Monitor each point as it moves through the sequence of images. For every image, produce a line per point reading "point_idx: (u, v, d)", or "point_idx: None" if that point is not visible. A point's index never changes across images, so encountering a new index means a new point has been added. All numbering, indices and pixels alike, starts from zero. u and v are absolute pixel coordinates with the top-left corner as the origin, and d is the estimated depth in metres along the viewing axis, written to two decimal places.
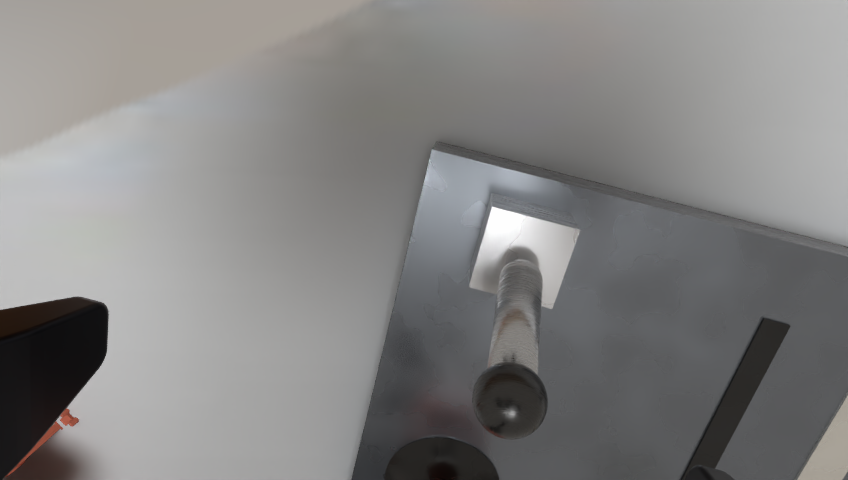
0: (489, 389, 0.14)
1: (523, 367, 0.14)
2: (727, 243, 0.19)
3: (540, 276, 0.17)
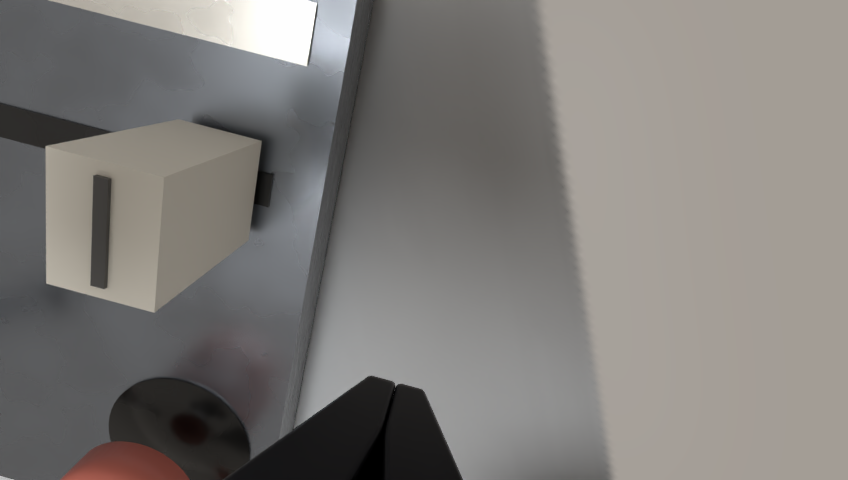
0: None
1: None
2: None
3: None
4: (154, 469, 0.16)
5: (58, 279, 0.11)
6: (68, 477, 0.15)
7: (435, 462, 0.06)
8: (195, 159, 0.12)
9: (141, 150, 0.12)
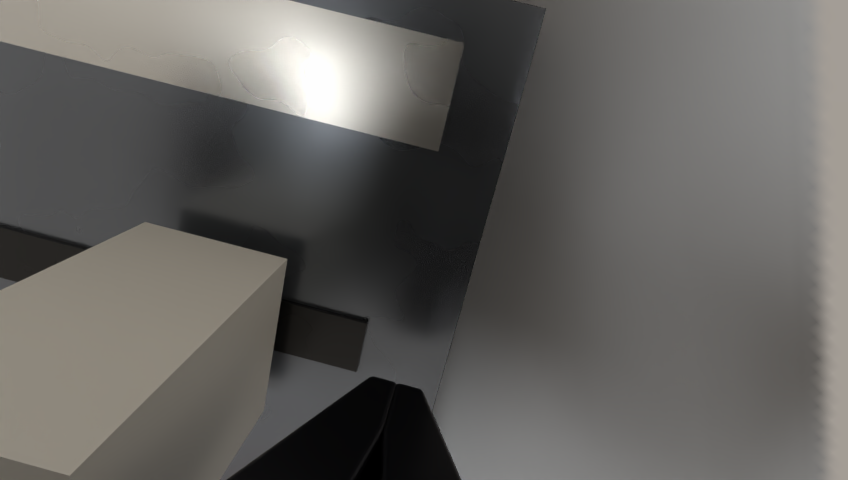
0: None
1: None
2: None
3: None
4: None
5: None
6: None
7: (433, 462, 0.06)
8: (161, 358, 0.06)
9: (42, 352, 0.05)
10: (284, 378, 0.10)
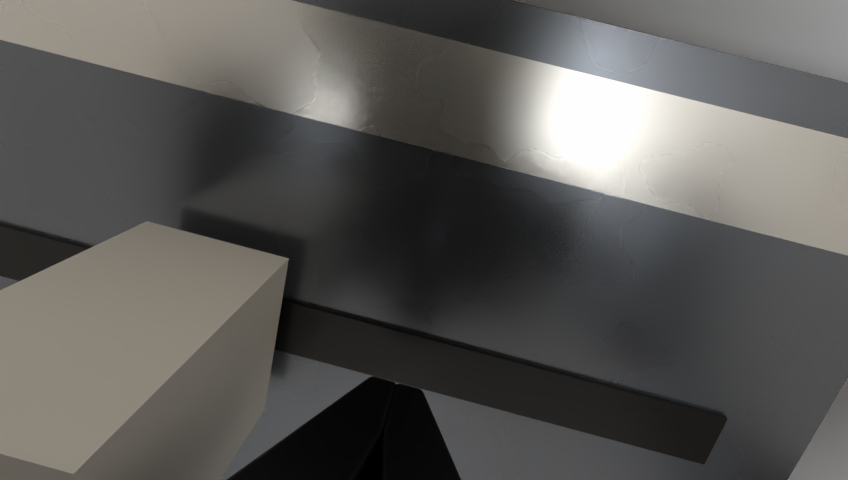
0: None
1: None
2: None
3: None
4: None
5: None
6: None
7: (433, 461, 0.06)
8: (163, 357, 0.06)
9: (45, 351, 0.05)
10: (619, 466, 0.10)
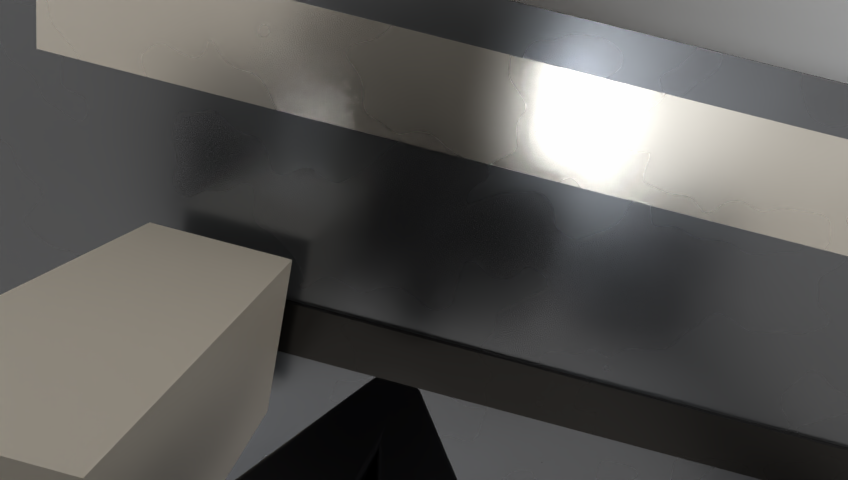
0: None
1: None
2: None
3: None
4: None
5: None
6: None
7: (429, 460, 0.06)
8: (170, 359, 0.06)
9: (51, 354, 0.05)
10: None
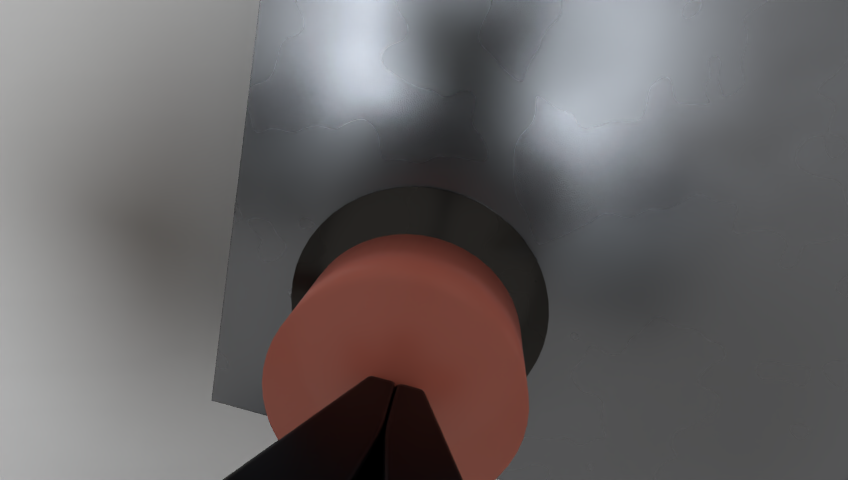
0: None
1: None
2: None
3: None
4: None
5: None
6: (517, 339, 0.08)
7: (435, 462, 0.06)
8: None
9: None
10: (834, 454, 0.11)
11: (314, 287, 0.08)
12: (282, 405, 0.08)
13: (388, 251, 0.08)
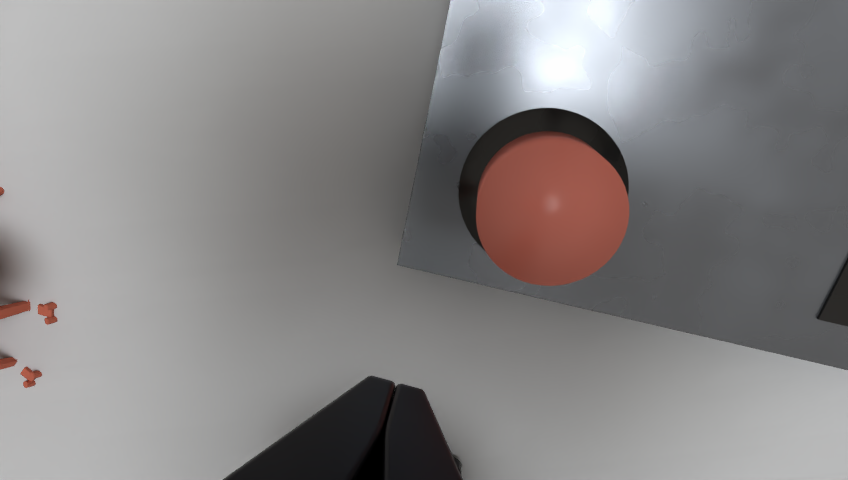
0: None
1: None
2: None
3: None
4: None
5: None
6: None
7: (435, 462, 0.06)
8: None
9: None
10: (816, 277, 0.17)
11: (502, 156, 0.15)
12: (486, 222, 0.15)
13: (542, 135, 0.15)
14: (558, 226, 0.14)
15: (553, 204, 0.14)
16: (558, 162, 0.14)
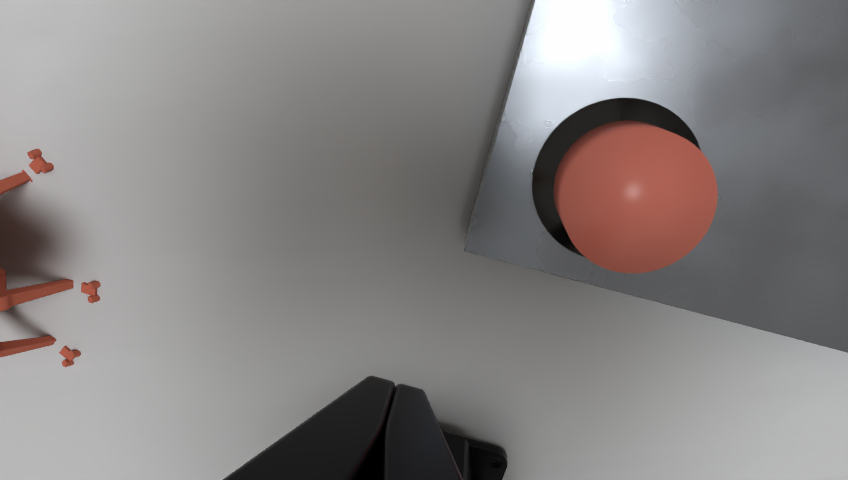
0: None
1: None
2: None
3: None
4: None
5: None
6: None
7: (435, 462, 0.06)
8: None
9: None
10: None
11: (589, 142, 0.15)
12: (572, 208, 0.15)
13: (628, 124, 0.15)
14: (645, 213, 0.15)
15: (641, 191, 0.14)
16: (650, 149, 0.14)
